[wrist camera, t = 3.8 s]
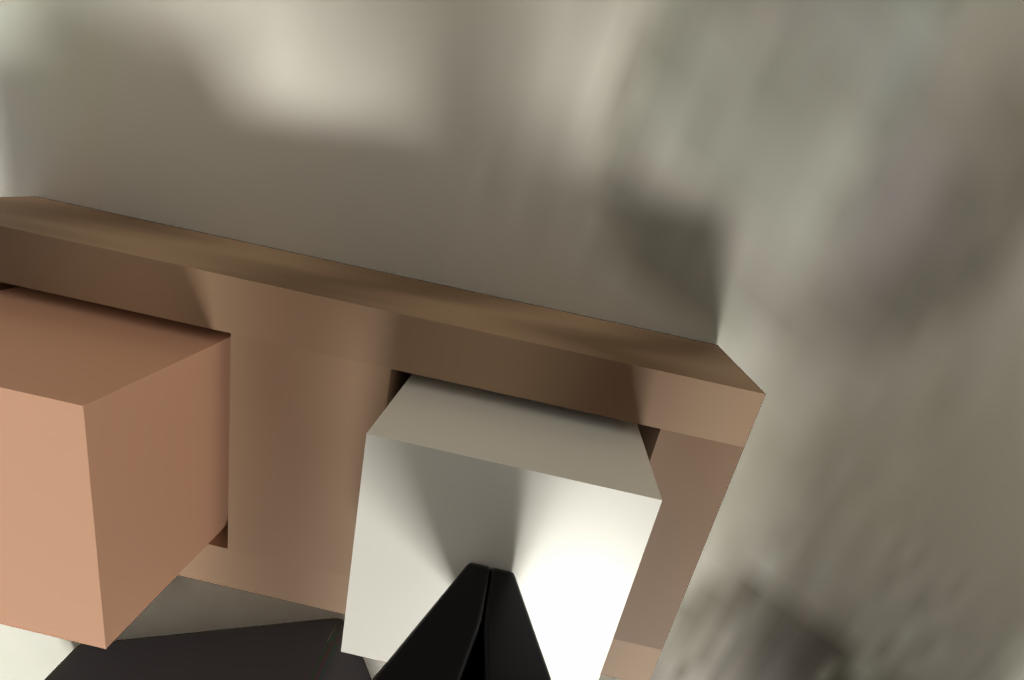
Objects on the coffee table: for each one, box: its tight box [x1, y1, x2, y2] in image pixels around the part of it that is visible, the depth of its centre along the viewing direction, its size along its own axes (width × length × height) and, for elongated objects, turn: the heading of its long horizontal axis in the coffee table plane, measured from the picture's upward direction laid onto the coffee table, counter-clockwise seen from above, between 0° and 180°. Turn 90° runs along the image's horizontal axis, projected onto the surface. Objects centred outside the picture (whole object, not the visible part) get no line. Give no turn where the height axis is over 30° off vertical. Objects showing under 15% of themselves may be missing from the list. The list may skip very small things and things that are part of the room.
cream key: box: [341, 374, 662, 680], centre depth 11 cm, size 5×5×4 cm
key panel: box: [0, 196, 765, 680], centre depth 12 cm, size 18×8×3 cm, turn 79°
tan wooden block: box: [0, 286, 231, 649], centre depth 10 cm, size 5×5×4 cm
